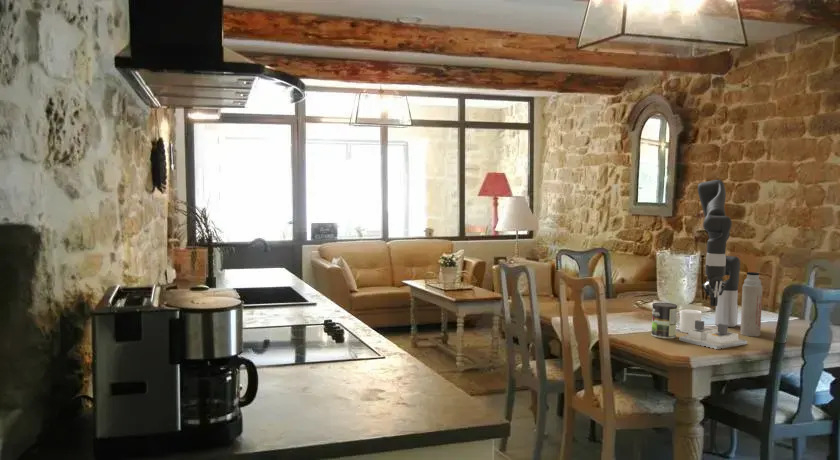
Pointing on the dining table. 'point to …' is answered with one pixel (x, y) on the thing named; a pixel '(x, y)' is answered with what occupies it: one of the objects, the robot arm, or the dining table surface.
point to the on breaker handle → (699, 325)
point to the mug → (688, 319)
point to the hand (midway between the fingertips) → (713, 305)
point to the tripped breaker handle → (722, 328)
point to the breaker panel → (710, 344)
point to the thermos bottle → (751, 305)
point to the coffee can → (664, 320)
